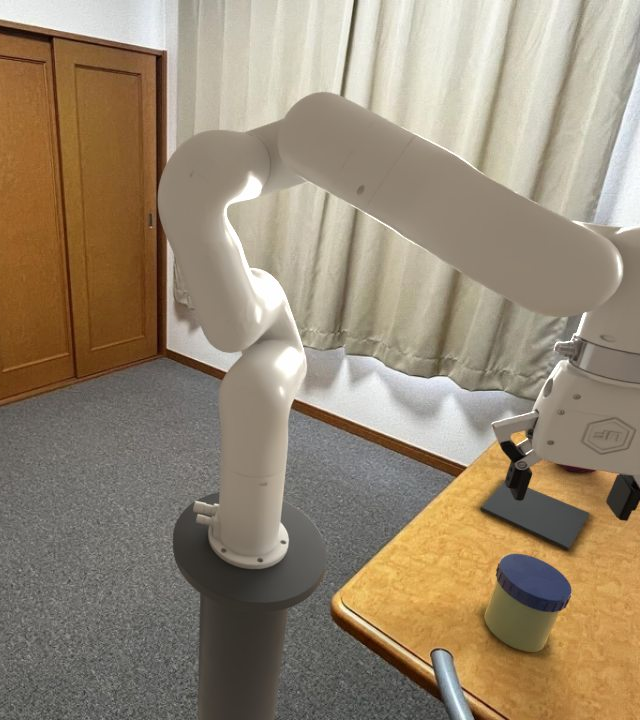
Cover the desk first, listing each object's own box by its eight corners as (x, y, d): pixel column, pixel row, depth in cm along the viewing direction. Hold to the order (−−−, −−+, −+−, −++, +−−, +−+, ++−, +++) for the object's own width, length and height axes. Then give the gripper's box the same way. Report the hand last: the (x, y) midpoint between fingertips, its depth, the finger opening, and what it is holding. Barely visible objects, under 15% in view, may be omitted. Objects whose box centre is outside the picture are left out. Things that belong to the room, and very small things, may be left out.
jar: (490, 642, 59) (509, 592, 55) (479, 600, 64) (495, 552, 61) (553, 659, 57) (576, 608, 53) (535, 615, 62) (556, 566, 59)
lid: (503, 602, 56) (508, 590, 55) (489, 558, 62) (493, 547, 61) (577, 620, 53) (582, 608, 53) (555, 573, 59) (559, 561, 59)
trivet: (568, 551, 72) (569, 548, 72) (480, 509, 81) (481, 507, 80) (588, 515, 79) (589, 512, 79) (505, 481, 87) (506, 478, 87)
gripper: (525, 362, 45) (480, 506, 52) (772, 388, 40) (685, 546, 46) (504, 336, 52) (467, 467, 59) (714, 355, 46) (646, 498, 53)
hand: (563, 501), depth 53 cm, fingers open, 8 cm apart
